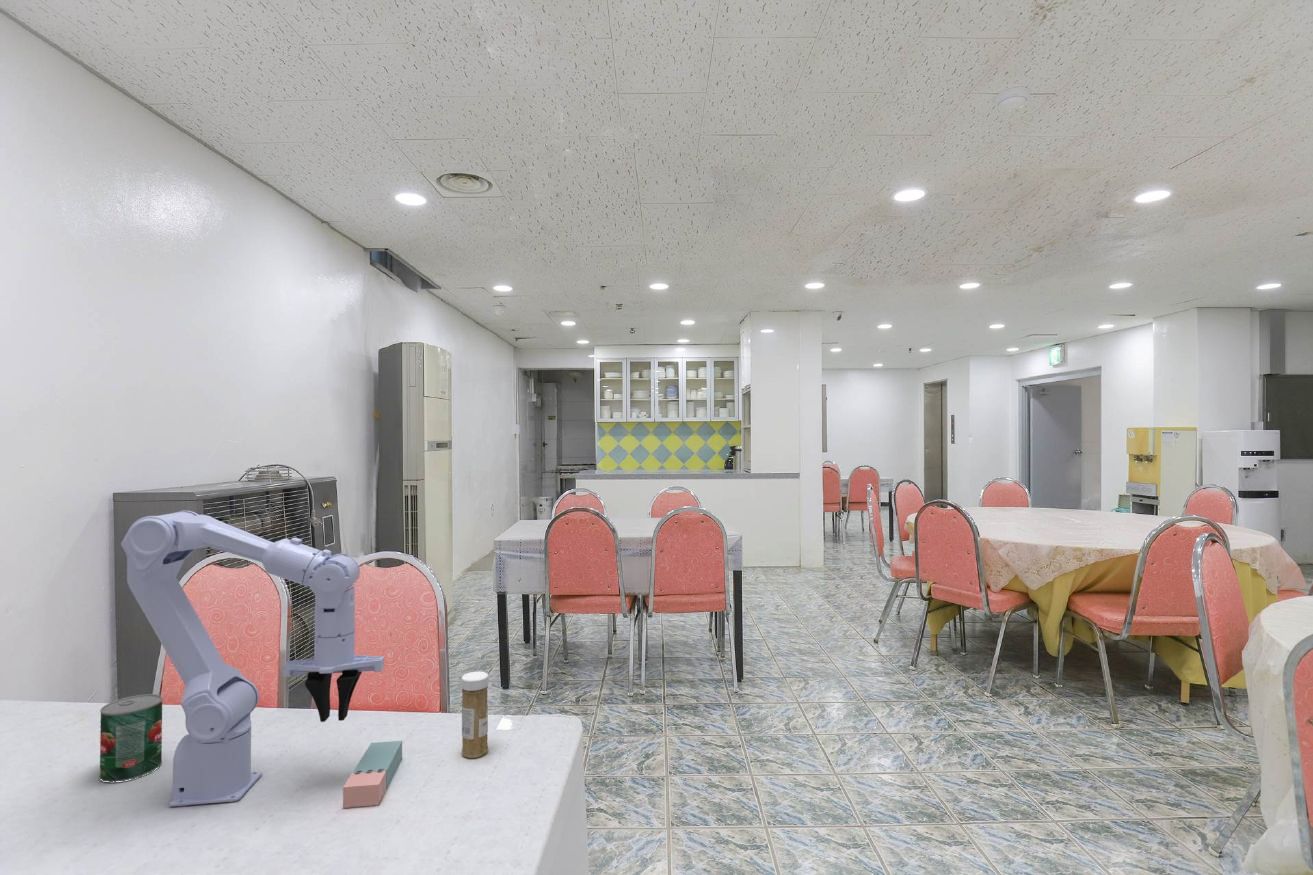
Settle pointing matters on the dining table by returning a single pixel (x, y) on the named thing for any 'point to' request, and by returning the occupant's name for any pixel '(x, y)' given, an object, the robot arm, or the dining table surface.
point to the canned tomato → (130, 737)
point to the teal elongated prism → (381, 759)
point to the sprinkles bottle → (474, 714)
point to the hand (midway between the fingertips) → (334, 718)
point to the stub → (364, 789)
